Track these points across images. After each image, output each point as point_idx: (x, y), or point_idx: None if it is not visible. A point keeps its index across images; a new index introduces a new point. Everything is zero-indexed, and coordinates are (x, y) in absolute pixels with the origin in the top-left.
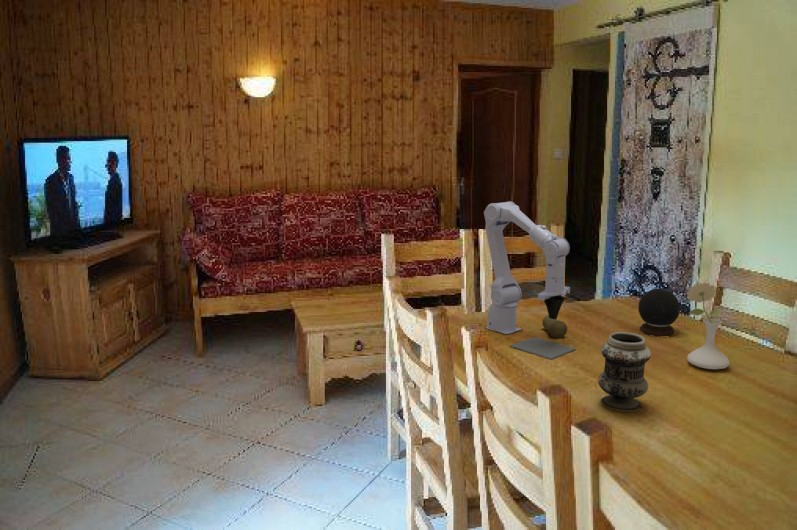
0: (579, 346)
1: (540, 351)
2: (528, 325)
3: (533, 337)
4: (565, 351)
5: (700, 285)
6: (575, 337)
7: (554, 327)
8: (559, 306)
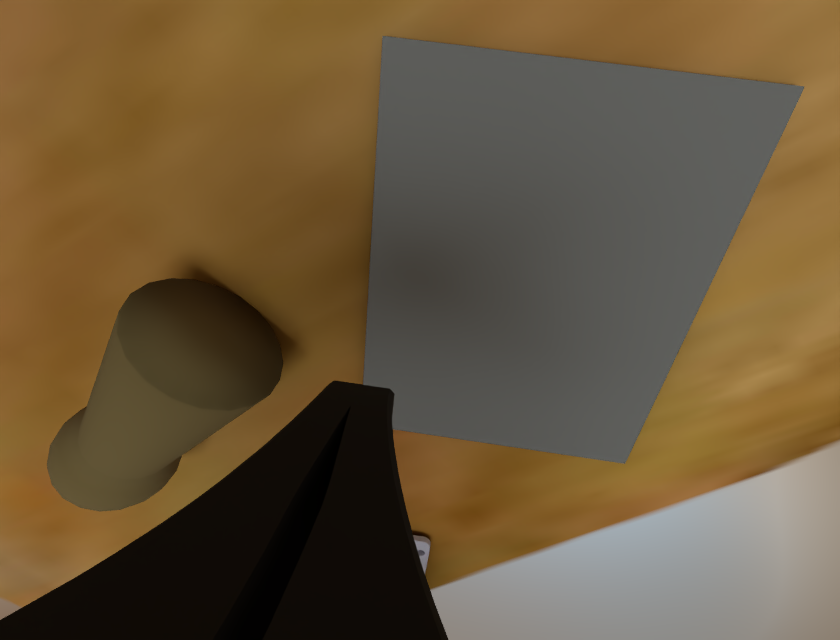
0: (272, 65)
1: (646, 259)
2: None
3: None
4: (524, 79)
5: None
6: (118, 215)
7: (230, 373)
8: (227, 545)
